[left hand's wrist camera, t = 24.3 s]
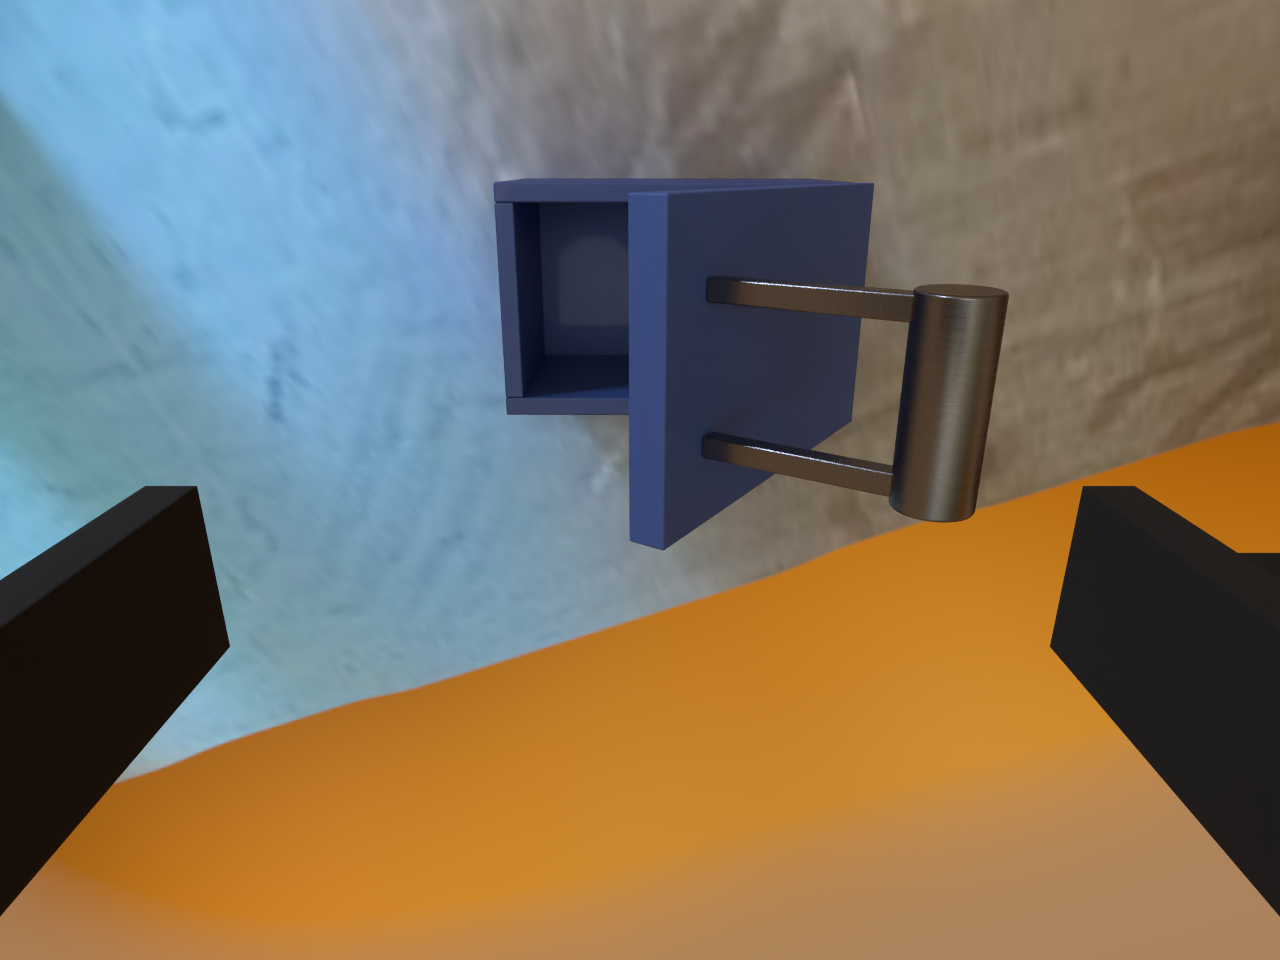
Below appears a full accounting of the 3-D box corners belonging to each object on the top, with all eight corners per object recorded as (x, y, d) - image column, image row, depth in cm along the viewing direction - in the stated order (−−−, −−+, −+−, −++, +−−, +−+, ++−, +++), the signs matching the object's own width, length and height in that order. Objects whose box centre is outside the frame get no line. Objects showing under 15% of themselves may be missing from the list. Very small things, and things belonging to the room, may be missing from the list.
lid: (628, 541, 25) (937, 629, 20) (627, 192, 21) (1001, 200, 17) (825, 417, 37) (1045, 453, 33) (845, 182, 34) (1095, 185, 29)
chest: (533, 365, 47) (506, 414, 38) (524, 178, 43) (493, 182, 34) (796, 365, 47) (835, 415, 38) (809, 178, 43) (855, 182, 34)
